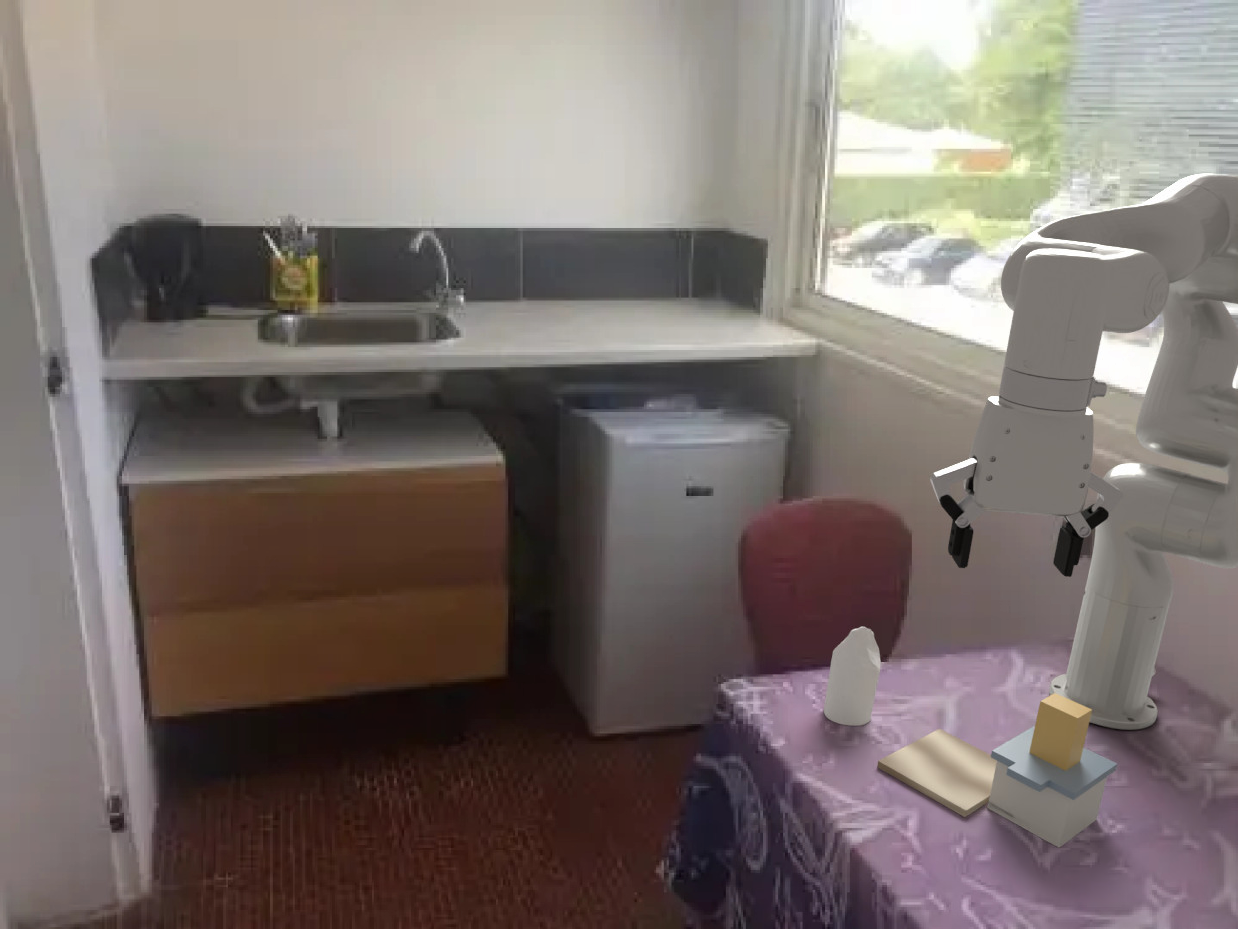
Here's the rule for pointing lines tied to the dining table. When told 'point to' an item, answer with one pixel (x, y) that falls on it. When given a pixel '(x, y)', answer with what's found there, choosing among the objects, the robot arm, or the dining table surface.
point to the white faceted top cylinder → (853, 679)
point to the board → (944, 771)
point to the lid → (1055, 751)
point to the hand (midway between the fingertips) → (1010, 566)
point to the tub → (1044, 807)
